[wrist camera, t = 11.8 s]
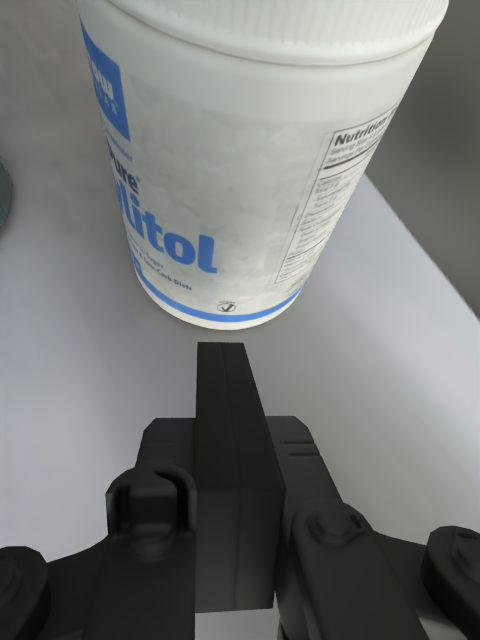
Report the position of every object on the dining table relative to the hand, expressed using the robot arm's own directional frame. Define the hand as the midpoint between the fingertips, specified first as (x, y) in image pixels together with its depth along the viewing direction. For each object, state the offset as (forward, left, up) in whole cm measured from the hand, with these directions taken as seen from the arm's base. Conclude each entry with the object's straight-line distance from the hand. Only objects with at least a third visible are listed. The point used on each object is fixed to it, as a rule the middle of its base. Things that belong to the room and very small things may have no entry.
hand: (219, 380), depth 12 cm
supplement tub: (-2, +8, -5) cm, 10 cm away
